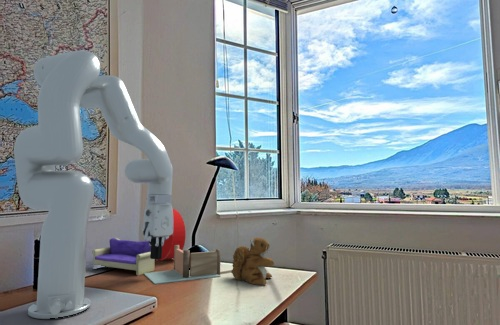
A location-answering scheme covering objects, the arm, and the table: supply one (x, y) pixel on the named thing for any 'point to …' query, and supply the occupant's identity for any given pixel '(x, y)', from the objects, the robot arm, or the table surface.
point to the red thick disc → (174, 237)
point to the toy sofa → (126, 256)
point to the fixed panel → (201, 263)
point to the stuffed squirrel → (252, 262)
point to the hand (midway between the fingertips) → (155, 258)
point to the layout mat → (173, 276)
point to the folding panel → (178, 259)
